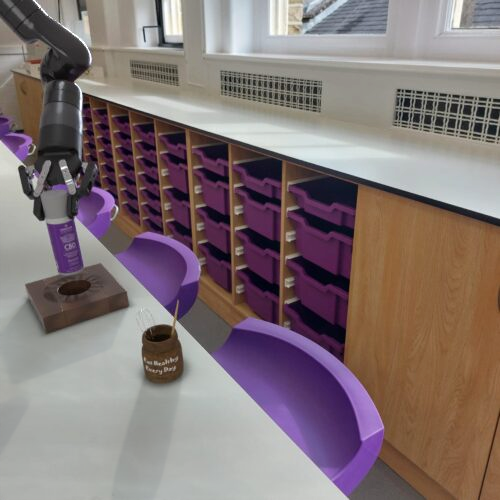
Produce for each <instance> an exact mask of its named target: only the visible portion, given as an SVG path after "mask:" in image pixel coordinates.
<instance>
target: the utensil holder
mask: <svg viewBox="0 0 500 500" xmlns="http://www.w3.org/2000/svg"><path fill="white" fill-rule="evenodd" d="M179 303H180V300H179V299H177V302H176V307H175V312H174V317H173V322H172V325H171V324H164V323H161V324H156V322H155V321H154V317H153V315H152V314H151V312H150V311H148V309H147V308H146V309H145V308H143V309H139V310H138V313H136V314H135V316H136V318H135V319H136V323H137V325H138V327H139V329H140V331H141V332H142V334H141V335H142V336H141V343H142V345H141V359H142V365H143V370H144V374H145V377H146V379H148V381H150V382H152V383H155V384H166V383H171V382H173V381H175V380H177V379H178V378H180V376H182V375H183V372H184V370H185V369H184V367H185V365H184V364H185V363H184V355H183V348H182V342H181V341H180V339H179V334H178V331H177V329H176V324H177V316H178V311H179V310H178V309H179ZM147 311H148V313H149V314H150V317H151V319H152V320H151V321H153V322H152V323H151V321H150V319H149V316H148V315H147V314H146V312H147ZM142 312H143V313H144V315H145V317H146V319H147V322H148V326H149V327H148V328H146V325H145V323H144V320H143V319H142V318H143V314H141V313H142ZM140 314H141V315H140ZM139 319H140V321H141V324H142V326H143V327H144V331H143V329H142V328H141V326H140V322H139V321H138V320H139ZM152 324H153V325H152Z"/></svg>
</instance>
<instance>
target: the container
mask: <svg viewBox="0 0 500 500" xmlns="http://www.w3.org/2000/svg"><path fill="white" fill-rule="evenodd" d="M40 196H41V201H42V206H43V210H44V215H45V225H46V228H47V232H48V236H49V241H50V245H51V249H52V253H53V258H54V262H55V266H56V269H57V273H58V275H59V274H60V275H63V276H69V275H74V274H77V273H80V272H81V271H83V269H84V267H85V265H84V259H83V255H82V250H81V245H80V241H79V236H78V231H77V226H76V223H75V219H69V218H68V216H67V196H69V191H68V189H64V188H56V189H52V190H49V191H46V192H43V193H42V194H41V195H40Z"/></svg>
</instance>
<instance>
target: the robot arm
mask: <svg viewBox="0 0 500 500" xmlns="http://www.w3.org/2000/svg"><path fill="white" fill-rule="evenodd" d="M0 20H1V21H2V22H3V23H4V24H5V25H6V26H7V27H8V29H10V31H11V32H12V33H13V34H14V35H15V36H16V37H17V38H18V39H19V40H20V41H21V42H22V43H24V44H26V45H32V44H35V43H36V42H38V41H40V42H42V43H44V44H45V45H47V46H48V47H50V48H49V49H48V50H47V51H46V52H45V53H44V54H43V56H42V58H41V60H40V63H39V78H40V82H41V83H40V84H41V87H42V91H43V98H42V107H41V115H40V117H39V118H40V119H39V126H38V127H39V128H38V138H37V139H38V140H37V148H36V149H37V150H36V152H37V155H36V156H37V157H36V160H35V161H34V163H33V164H32V165H28V166H25V165H23V164H20V165H19V166H17V171H18V175H19V179H20V184H21V188H22V189H21V190H22V192H23V194H24V195H25V196H26V197H27V198H28V199H29V200H31V201H33V208H32V214H33V216H34V217H35V218H36V219H37V220H38V221H39V222H46V220H45V215H44V210H43V206H42V201H41V196H40V195H41V194H42V193H43V192H46V191H49V190H53V187H54V186H58V185H63V186H66V187H67V188H66V189H67V192H68V196H67V216H68V218H69V219H74V220H76V219H75V218H76V217H77V216H78V214H79V205H80V203H79V202H80V199H82V198H84V197H90V195H91V193H92V190H93V188H94V185H95V182H96V179H97V176H98V174H99V169H98V167H97V164H96V163H95V161H93V160H91V161H88V162H87V161H86V162H85V161H83V160H82V156H83V155H82V154H83V137H84V123H83V106H84V95H83V91H82V89H81V88H80V86H79V85H78V84H77V83H76V82H75V81H77V80H78V79H79V78H80V77H81V76H83V74H84V73H86V72H87V71H88V70H89V69H90V67H91V65H92V61H93V59H92V54H91V51H90V49H89V47H88V46H87V45H86V43H85V42H84V40H83V39H81V38H80V37H79V36H78V35H77V34H75V33H73V32H72V31H71V30H70V29H68V28H67V27H65V26H64V25H63V24H61V23H60V22H58V21H57V19H54V18H53V17H51V16H50V15H49V14H48V13H47V12H46V11H45V10H44V9H43V8H42V6H41V5H40V4H39V3H38V2H37V1H36V0H0ZM81 172H83V176H82V179H81V182H80V185H79V186H78V184H77V182H76V178H77V177H78V176H79V174H80V173H81ZM36 173H37V174H38V177H37V180H36V186H35V187H34V184H33V180H34V178H35V174H36Z"/></svg>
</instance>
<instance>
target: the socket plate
mask: <svg viewBox="0 0 500 500" xmlns="http://www.w3.org/2000/svg"><path fill="white" fill-rule="evenodd" d="M24 287H25V291H26V294H27V298H28V300H29V302H30V304H31V306H32V308H33V310H34V312H35V314H36V317H37V318H38V320H39V322H40V324H41V326H42V328H43V330H44V332H45V334H47V335H48V334H51V333H54V332H56V331H60V330H63V329H67V328H68V327H71V326H75V325H77V324H81V323H83V322H87V321H90V320H92V319H95V318H99V317H101V316H104V315H107V314H111V313H114V312H116V311H120V310H122V309H126V308H128V307H130V302H129V296H128V291H127V290H126V289H125V287H124V286H122V284H121V283H120V282H119V281H118V280H117V279H116V278H115V277H114V275H113V274H111V272H110V271H109V270H108V269H107V268H106V267H105V266H104V264H103V263H102V262H99V263H95V264H92V265H89V266H84V269H83V271H81V272H80V273H77V274H74V275H69V276H63V275H60V274H59V273H58V274H57V275H52V276H49V277H45V278H42V279H38V280H34V281H31V282H27V283H25V284H24Z"/></svg>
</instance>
